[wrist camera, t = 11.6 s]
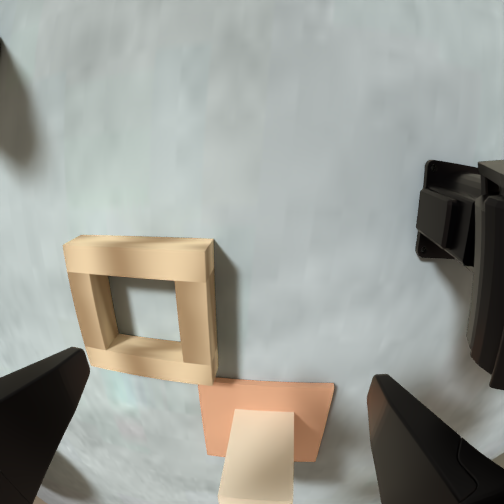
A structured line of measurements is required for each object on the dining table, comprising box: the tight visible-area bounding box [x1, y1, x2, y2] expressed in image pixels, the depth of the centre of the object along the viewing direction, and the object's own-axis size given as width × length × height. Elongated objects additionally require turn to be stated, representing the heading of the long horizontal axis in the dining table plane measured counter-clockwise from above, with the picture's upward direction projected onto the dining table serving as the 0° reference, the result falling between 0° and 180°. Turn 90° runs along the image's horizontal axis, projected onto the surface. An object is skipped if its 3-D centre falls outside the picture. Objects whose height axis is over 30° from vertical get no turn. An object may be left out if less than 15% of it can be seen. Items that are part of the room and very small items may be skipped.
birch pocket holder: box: [63, 235, 219, 386], centre depth 22 cm, size 10×10×2 cm
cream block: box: [218, 409, 294, 504], centre depth 22 cm, size 5×5×9 cm
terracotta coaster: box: [198, 377, 334, 462], centre depth 26 cm, size 11×11×1 cm
